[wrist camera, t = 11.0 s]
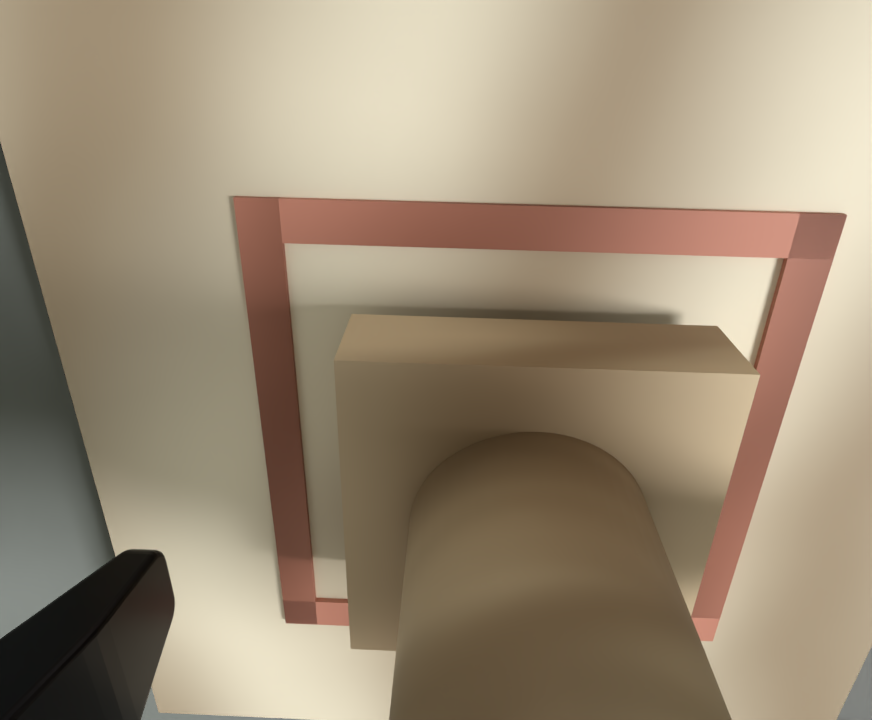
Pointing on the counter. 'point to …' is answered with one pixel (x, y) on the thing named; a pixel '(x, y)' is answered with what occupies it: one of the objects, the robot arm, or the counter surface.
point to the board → (444, 284)
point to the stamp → (536, 511)
